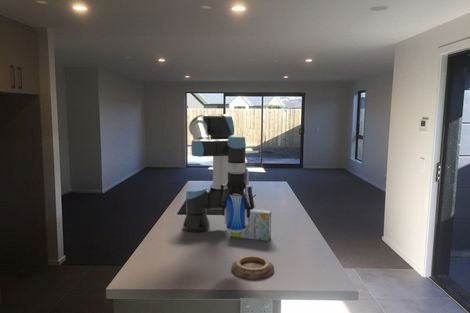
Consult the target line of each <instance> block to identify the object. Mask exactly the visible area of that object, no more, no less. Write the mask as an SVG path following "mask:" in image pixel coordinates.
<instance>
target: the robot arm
mask: <svg viewBox="0 0 470 313" xmlns="http://www.w3.org/2000/svg"><path fill="white" fill-rule="evenodd" d="M188 125H189V126H188V130H189V133H190V135H191V136H192V138H193V139H192V141H191V144H190V145H191V146H190V149H191V156H193V157H199V158H201V157H212V184H210V186H209V187H210V188H207V187H206V186H201V185H200V186H194V187H193V186H192V187H191V188H188V189H187V190H186V192H185V214H186V215H185V216H184V217H185V218H184V219H183V220H184V221H183V224H182V225H183V226H182V229H183V230H184V231H186V232H191V233H201V232H205V231H208V230H210V227H211V226H210V225H211V224H210V221H209V217H208V214H207V211H210V210H211V211H213V210H222V213H221V214H222V217H224V224H225V225H227V198H228V196H229V195H232V194H240V196H241V195H242V197H243V199H244V200H245V207H246V210H245V226H247V224H248V218H249V217H250V210H252V209H255V208H256V207H255V201H254V196H253V186H252V185H248V184H246V173H245V172H246V145H247V144H246V137H245V136H243V135H235V124H234V120H233V117H232V115H230V114H227V113H226V114H225V113H223V114H221V113H219V114H207V113H204V114H200V115H197V116H195V117H194V118H193V119H192V120H191V121H190V122H189V124H188ZM245 189H246V191H247V195H248V198H247V197H246V193H245ZM248 200H249V201H248Z"/></svg>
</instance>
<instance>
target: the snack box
mask: <svg viewBox="0 0 470 313" xmlns="http://www.w3.org/2000/svg"><path fill="white" fill-rule="evenodd" d="M230 237H232V238H233V237H235V238H243V239H249V240H256V241H257V240H258V241H265V242H269V240H271V237H272V211H271V210H265V209H264V210H263V209H255V208H254V209H252V210H250V217H249V218H248V224H247V226H246V228H245V229H244V231H243V232H239V233H234V232H230Z"/></svg>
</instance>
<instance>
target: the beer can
mask: <svg viewBox="0 0 470 313" xmlns="http://www.w3.org/2000/svg"><path fill="white" fill-rule="evenodd" d="M245 210H246V207H245V200H244V199H243V197H242V195H241V196H240V194H232V195H229V196H228V198H227V224H226V229H227V231H228V232H230V233H231V232H234V233H239V232H243V231H244V229H245V228H246V226H245Z"/></svg>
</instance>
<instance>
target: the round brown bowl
mask: <svg viewBox="0 0 470 313" xmlns="http://www.w3.org/2000/svg"><path fill="white" fill-rule="evenodd" d="M231 272H232V274H234V275H235V276H237V277H238V278H241V279H245V280H254V281H255V280H263V279H266V278H269V277H271V276H272V275H273V274H274V272H275V266H274V265H273V264H272V262H270V261H269V260H268V259H267V258H266V257H263V256H260V255H251V254H250V255H244V256H240V257H238V258H237V259H236V260H235V261H234V262H233V263H232V264H231Z"/></svg>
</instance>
